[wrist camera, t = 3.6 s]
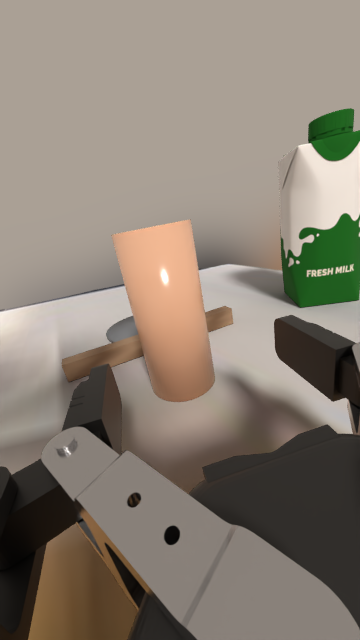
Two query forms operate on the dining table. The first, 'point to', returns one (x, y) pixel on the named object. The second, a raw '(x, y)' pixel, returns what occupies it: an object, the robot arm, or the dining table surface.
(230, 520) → the robot arm
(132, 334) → the coaster
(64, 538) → the dining table surface
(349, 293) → the milk carton
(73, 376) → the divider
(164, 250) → the peach cylinder
